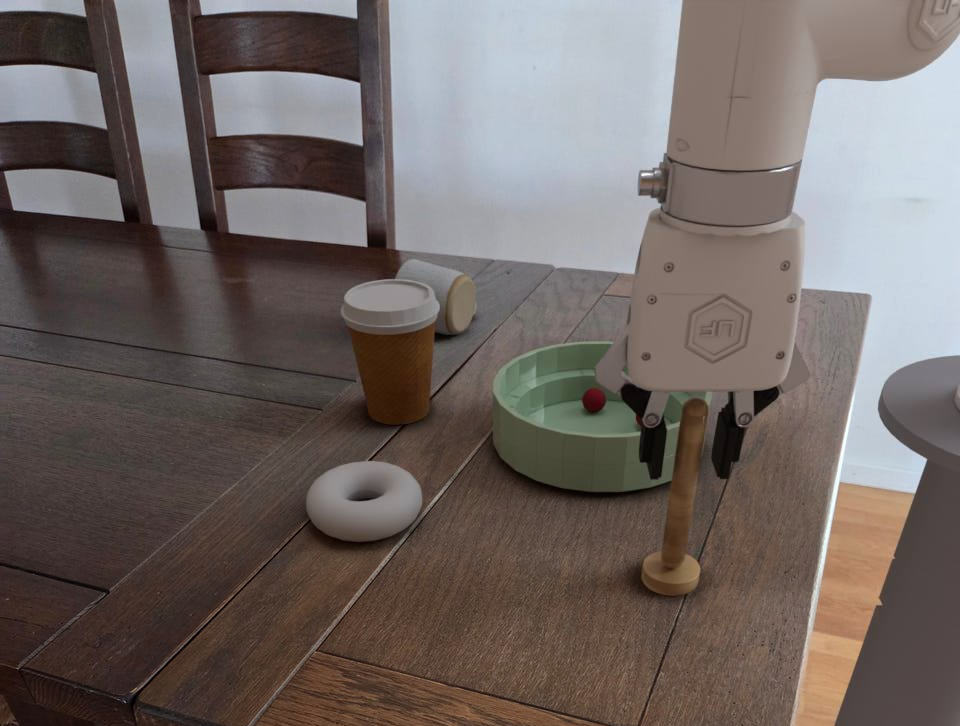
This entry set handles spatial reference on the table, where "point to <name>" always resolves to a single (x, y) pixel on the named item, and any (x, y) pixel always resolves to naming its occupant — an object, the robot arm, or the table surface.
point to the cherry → (594, 400)
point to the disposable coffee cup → (393, 346)
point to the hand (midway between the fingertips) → (686, 467)
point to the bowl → (574, 422)
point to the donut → (364, 520)
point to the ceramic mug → (445, 294)
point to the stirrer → (680, 509)
